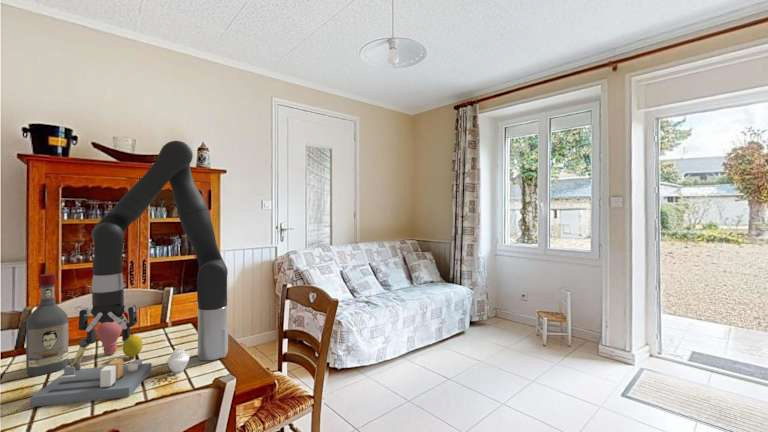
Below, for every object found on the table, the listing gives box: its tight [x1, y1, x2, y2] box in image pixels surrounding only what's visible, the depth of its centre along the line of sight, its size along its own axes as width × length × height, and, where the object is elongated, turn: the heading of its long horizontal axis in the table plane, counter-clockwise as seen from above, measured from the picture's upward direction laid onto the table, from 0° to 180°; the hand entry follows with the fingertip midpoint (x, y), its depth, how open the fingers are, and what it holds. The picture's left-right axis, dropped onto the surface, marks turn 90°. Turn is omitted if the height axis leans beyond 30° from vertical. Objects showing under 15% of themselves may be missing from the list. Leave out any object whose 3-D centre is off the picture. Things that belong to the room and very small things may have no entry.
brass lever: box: [72, 337, 91, 369], centre depth 105 cm, size 3×3×9 cm
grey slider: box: [100, 365, 116, 387], centre depth 97 cm, size 2×3×4 cm
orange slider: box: [108, 358, 124, 379], centre depth 101 cm, size 2×3×4 cm
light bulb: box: [96, 321, 123, 355], centre depth 124 cm, size 7×7×12 cm
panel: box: [30, 358, 153, 408], centre depth 101 cm, size 22×16×4 cm
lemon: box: [122, 333, 143, 358], centre depth 121 cm, size 6×6×8 cm
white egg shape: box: [166, 348, 190, 373], centre depth 112 cm, size 6×6×7 cm
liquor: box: [25, 273, 69, 377], centre depth 112 cm, size 9×9×30 cm
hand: (108, 341), depth 107 cm, fingers open, 8 cm apart
